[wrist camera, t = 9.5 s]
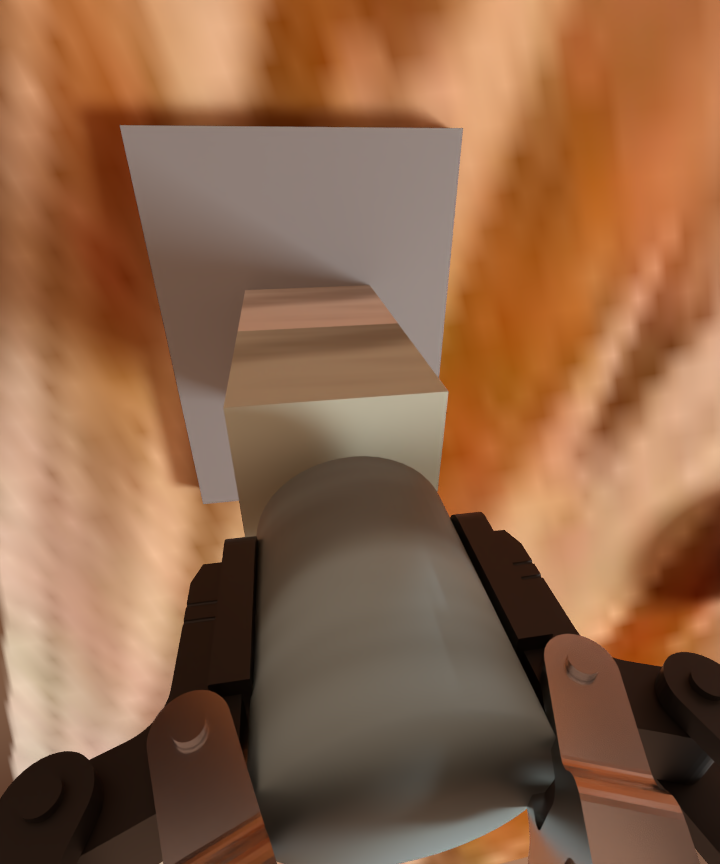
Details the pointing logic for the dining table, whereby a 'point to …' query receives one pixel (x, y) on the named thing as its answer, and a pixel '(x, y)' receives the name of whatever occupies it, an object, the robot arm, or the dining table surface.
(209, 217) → the tower board
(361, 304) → the base block
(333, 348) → the top block
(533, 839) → the robot arm
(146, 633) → the dining table surface
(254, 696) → the cylinder
